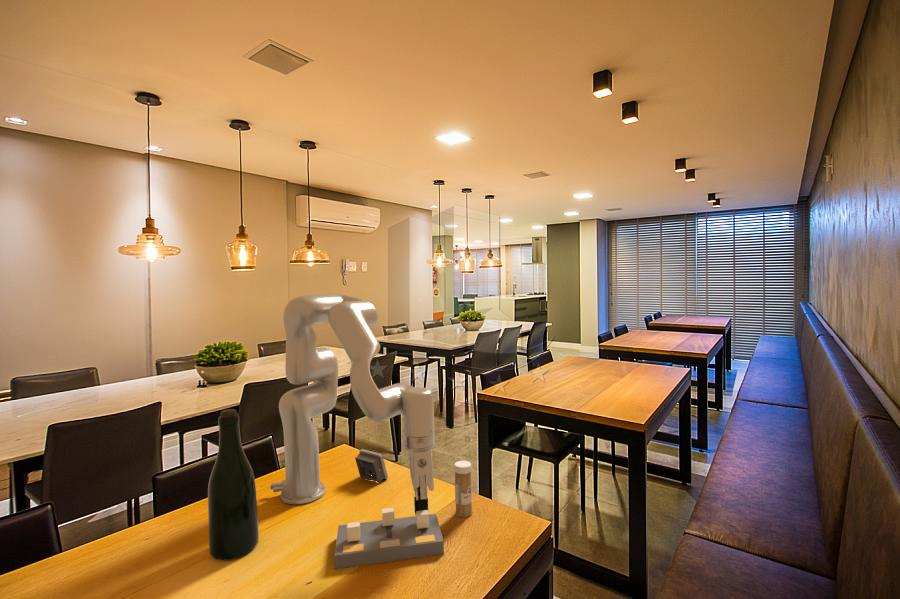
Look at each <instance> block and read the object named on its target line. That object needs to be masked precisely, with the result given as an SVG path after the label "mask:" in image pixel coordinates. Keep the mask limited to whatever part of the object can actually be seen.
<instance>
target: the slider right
mask: <svg viewBox="0 0 900 599" xmlns="http://www.w3.org/2000/svg"><path fill="white" fill-rule="evenodd" d="M415 516H416V524H417V529H420V528H428V527H429V509H428V510H422V511H416V515H415Z"/></svg>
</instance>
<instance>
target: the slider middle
mask: <svg viewBox="0 0 900 599" xmlns="http://www.w3.org/2000/svg"><path fill="white" fill-rule="evenodd" d="M381 512H382V520H383V526H389V525H395V523H394V519H395V509H394V507H388V508H387V507H386V508H382V509H381Z"/></svg>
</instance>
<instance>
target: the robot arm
mask: <svg viewBox="0 0 900 599" xmlns="http://www.w3.org/2000/svg"><path fill="white" fill-rule="evenodd" d="M378 316H379V315H378V311H377V308H376V307H375V306H374V305H373V304H372V303H371V302H369V301H368V300H365V299H362V298H361V299H360V298H358V297H357V298H356V297H353V296H349V295H345V294H339V293H327V294H326V293H325V294H321V293H320V294H305V295H299V296H297V297H294V298H292V299H291V300H289V301H288V302H287V303H286V306H285V307H284V311H283V316H282V317H283V318H282V319H283V324H284V325H283V326H284V331H285V366H284V367H285V378H286V380H287V381H288V382H289V383H290V384H292V385H303V386H300V387H297V388H293V389H290V390H288V391H286V392H285V393H283V395H282V396H281V397H280V399H279V402H278V410H279V416H280V419H281V423H282V424H281V425H282V428H283V430H282V431H283V444H284V445H283V446H284V464H285V466H284V467H285V468H284V470H285V480H282V481H277V482H276V481H274V482H271V483H270V490H272V492H273V493H278V492H281V493H280V500H281V501H282V503H285V504H287V505H304V504H307V503H311V502H314V501H316V500H318V499H320V498H321V497H323V495H325V494H326V490H327V488H326V487H327V486H326V485H325V484H324V483H323V482H321V473H320V471H321V470H320V451H319V450H320V449H319V448H320V447H319V444H320V443H319V433H318V429H317V427H316V426H315V424H314V423H313V421H312V419H313V418H315V417H317V416H320V415H322V414H325V413H328V412H329V411H332V410H333V409H334V407H335V406H336V404H337V399H338V384H339V383H338V382H339V363H338V358H337V357H336V355H335V353H334V352H333V350H331V349H329V348H327V347H317V346H318V345H317V344H318V338H317V333H316V331H315V329H314V328H313V326H315V325H325V324H330V326H331V328H332V330H333V332H334V334H335V336H336V337H337V339H338V340H339V342H340V344H341V346H342V347H343V351H345V353H346V355H347V357H348V358H349V360H350V362H351V364H350V369H349V378H350V379H349V382H350V389H351V393H352V395H353V398H354V399H355V402H356V403H357V405H358V406H359V408H360V409H361V411H362V413H363V414H364V415H365V417H367V418H368V419H369V420H371V421H372V422H374V423H381V422H384V421H387V420H389V419H391V418H394V417H396V416H399V415H402V426H403V428H402V429H403V431H402V432H403V448H404V449H406V450H407V451H408V459H409V460H408V464H409V473H410V479H411V484H412V490H413V492H414V497H413V502H414V504H413V505H414V506H413V507H414V516H416V511H422V510H428V511H429V496H428V490H429V491H434V489H435V484H434V483H435V482H434V466H433V464H434V462H433V455H432V454H433V453H432V449H433V448H434V447H435V442H436V441H435V416H434V415H435V410H434V404H435V403H434V394H433V391H432V390H431V389H430V388H427V387H414V386H412V385H409V384H406V383H402V382H397V383H393V384H391V385H387V386H385V387H380V388H378V386H377V384H376V382H375V381H374V379H373V377H372V374H371V370H370V369H371V362H372V359H374V358H375V357H376V356H377V354H379V352H380V349H381V344H380V342H379V341H378V339H377V338H376V336H375V334H374V333H373V330H371V329H372V328H374V327H375V326H376V325H377V323H378V318H379V317H378ZM312 382H313V383H312ZM308 383H311V384H308ZM305 384H308V385H305Z"/></svg>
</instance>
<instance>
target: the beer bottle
mask: <svg viewBox="0 0 900 599" xmlns="http://www.w3.org/2000/svg"><path fill="white" fill-rule="evenodd" d="M237 412H238V411H237V409H235V408H228V409H224V410H221V411H220V416H219V417H218V421H217V423H218V433H219V434H218V435H219V436H218V449H217V455H216V459H215V463H214V465H213V467H212V470H211V473H210V477H209V480H208V487H207V514H208V515H207V519H208V520H207V522H208V527H207V528H208V548H209V554H210V556H211V558H213V559H214V560H219V561H229V560H235V559H238V558H241V557H244V556H245V555H247V554H248V553H250V552H252V551H253V550H254V549H255V548H256V547H257V545H258V543H259V541H260V540H259V539H260V538H259V534H260V532H259V516H258V501H257V486H256V480H255V479H256V478H255V474H254V471H253V468H252V466H251V463H250V462H249V460H248V458H247V456H246V454H245V451H244V449H243V445H242V440H241V432H240V416H239V413H237Z"/></svg>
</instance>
